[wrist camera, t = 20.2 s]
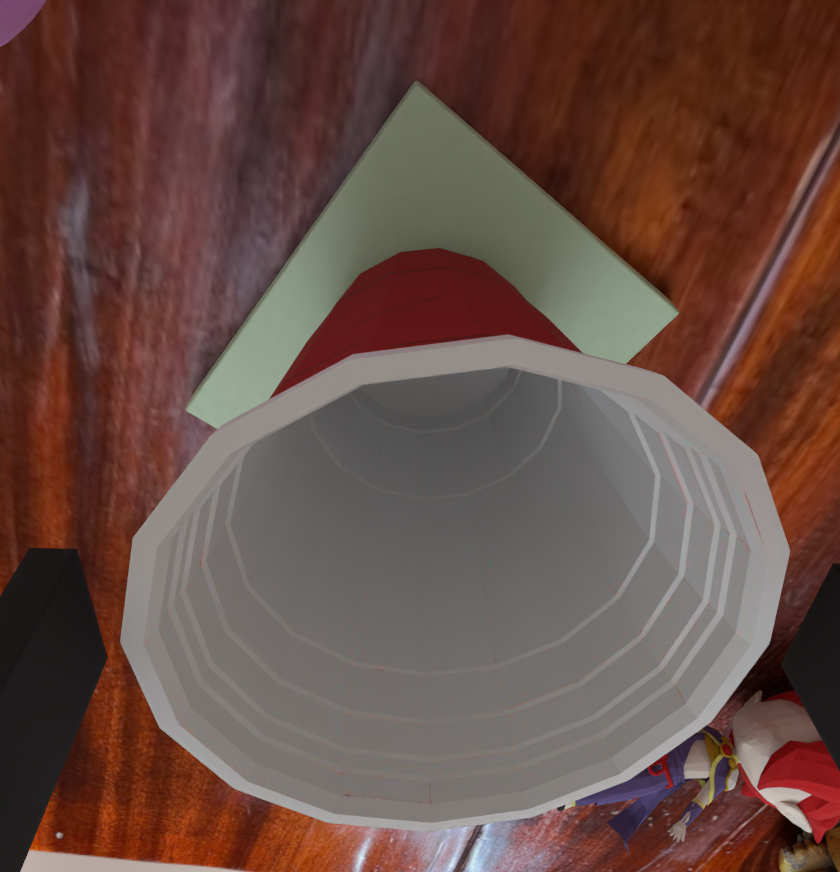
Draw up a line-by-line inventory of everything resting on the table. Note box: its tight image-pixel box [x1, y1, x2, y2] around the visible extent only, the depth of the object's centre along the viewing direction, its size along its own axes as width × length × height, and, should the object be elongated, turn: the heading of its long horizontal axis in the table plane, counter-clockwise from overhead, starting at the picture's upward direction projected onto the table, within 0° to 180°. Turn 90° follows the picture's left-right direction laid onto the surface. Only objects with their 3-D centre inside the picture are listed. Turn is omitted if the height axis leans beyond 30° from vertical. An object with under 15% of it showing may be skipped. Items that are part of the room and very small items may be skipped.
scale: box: [186, 81, 679, 429], centre depth 22 cm, size 13×11×2 cm
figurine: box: [557, 690, 840, 856], centre depth 31 cm, size 6×8×15 cm
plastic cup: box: [120, 248, 790, 832], centre depth 16 cm, size 11×11×12 cm
